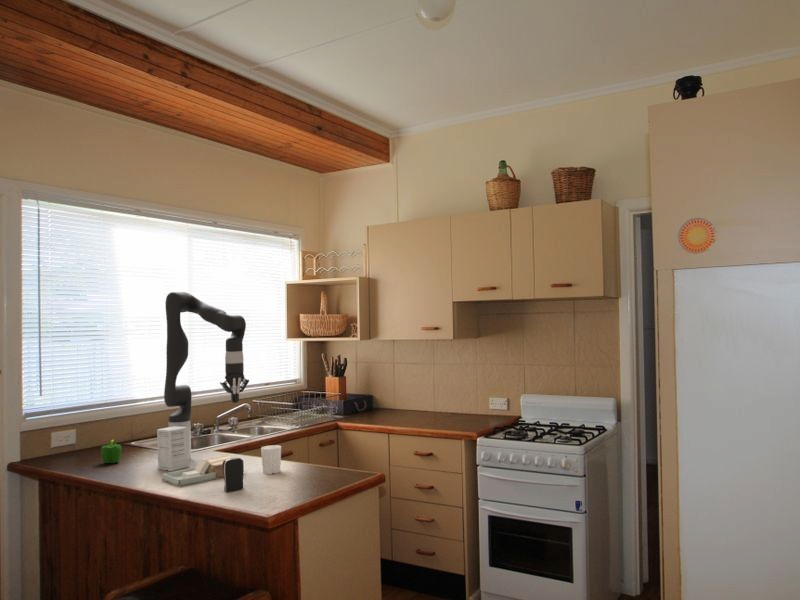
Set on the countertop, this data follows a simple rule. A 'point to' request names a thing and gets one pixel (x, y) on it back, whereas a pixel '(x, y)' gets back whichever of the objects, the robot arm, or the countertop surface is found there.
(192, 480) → the tray
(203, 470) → the tile back
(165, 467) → the supplement box
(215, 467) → the tan flat block
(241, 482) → the battery charger
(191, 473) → the tile front
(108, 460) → the bell pepper
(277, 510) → the countertop surface
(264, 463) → the white cup
